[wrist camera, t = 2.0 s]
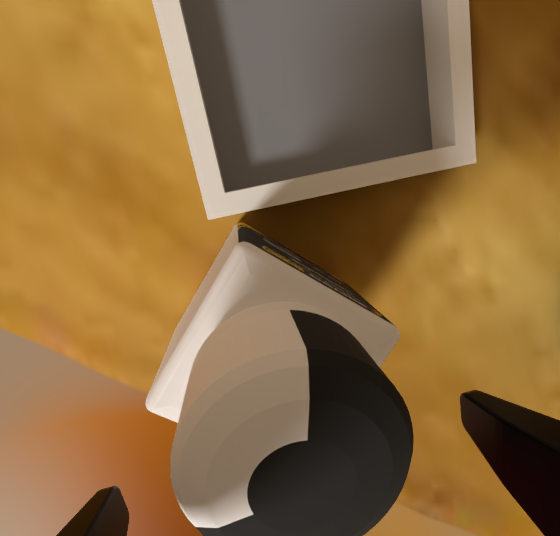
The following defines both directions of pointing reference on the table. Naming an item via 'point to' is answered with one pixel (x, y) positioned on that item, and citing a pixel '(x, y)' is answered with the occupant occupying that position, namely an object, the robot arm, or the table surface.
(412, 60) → the walled box
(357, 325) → the medicine bottle
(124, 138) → the table surface
